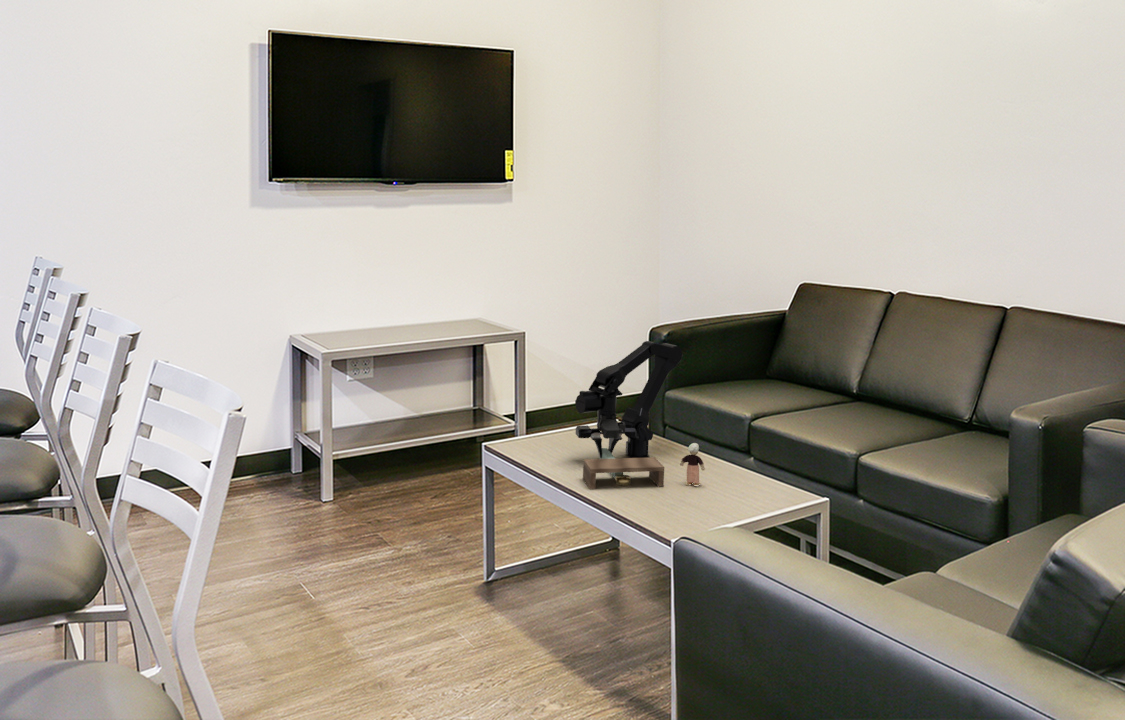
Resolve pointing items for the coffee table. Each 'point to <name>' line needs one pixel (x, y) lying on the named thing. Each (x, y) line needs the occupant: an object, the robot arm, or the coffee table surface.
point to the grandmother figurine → (693, 464)
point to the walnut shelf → (622, 468)
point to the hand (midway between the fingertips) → (605, 457)
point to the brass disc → (622, 479)
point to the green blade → (607, 455)
